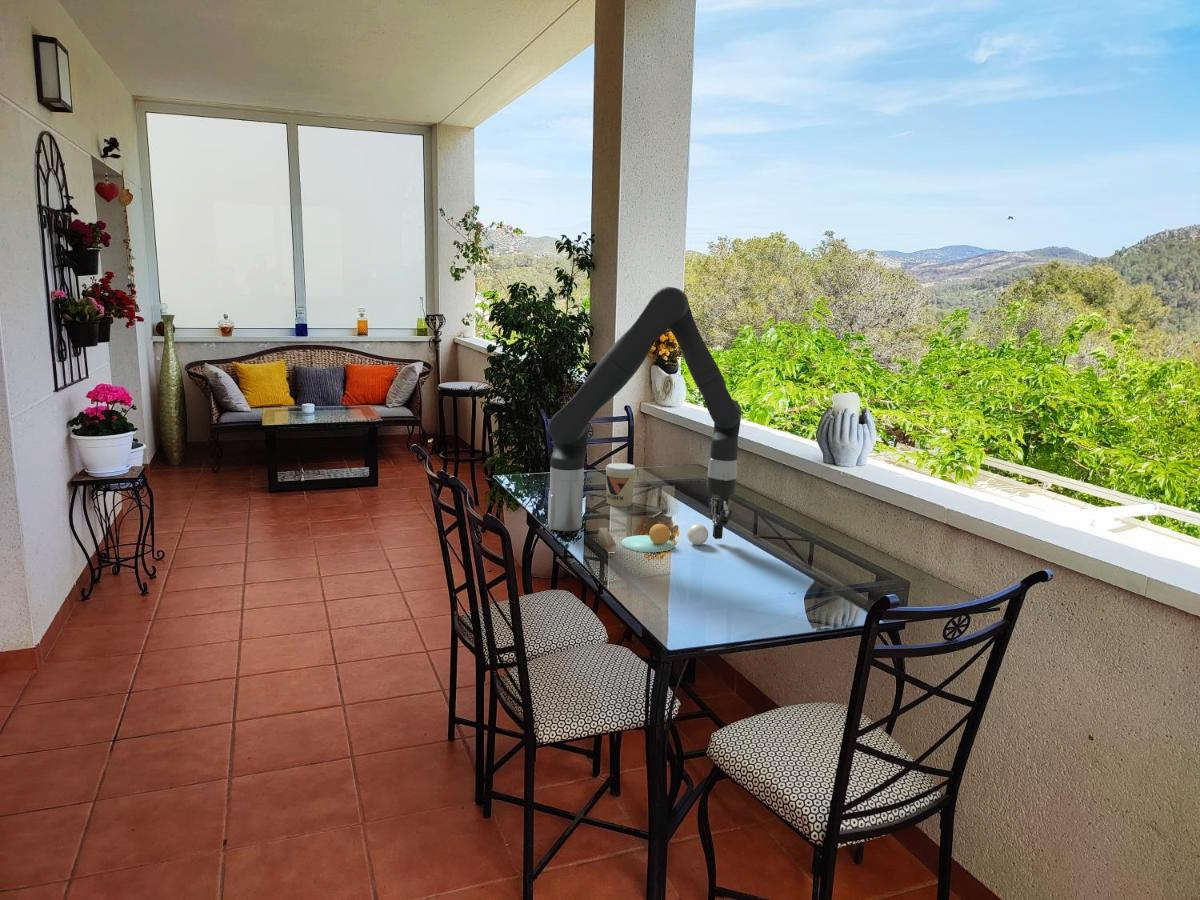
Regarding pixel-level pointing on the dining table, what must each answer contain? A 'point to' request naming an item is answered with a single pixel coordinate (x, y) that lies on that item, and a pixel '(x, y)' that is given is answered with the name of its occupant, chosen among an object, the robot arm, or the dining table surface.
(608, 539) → the brown wooden bar
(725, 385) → the robot arm
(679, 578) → the dining table surface
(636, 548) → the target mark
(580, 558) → the dining table surface
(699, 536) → the cue ball
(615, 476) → the coffee cup
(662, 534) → the object ball
